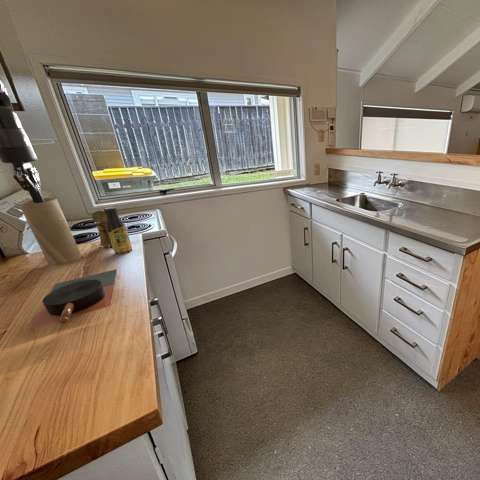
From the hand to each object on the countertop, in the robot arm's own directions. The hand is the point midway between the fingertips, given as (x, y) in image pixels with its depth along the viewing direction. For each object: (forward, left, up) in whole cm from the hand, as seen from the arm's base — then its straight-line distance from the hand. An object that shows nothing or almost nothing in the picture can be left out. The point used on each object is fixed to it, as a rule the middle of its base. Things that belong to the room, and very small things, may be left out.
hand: (39, 202), depth 83 cm
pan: (+5, -29, -26) cm, 39 cm away
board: (+5, -20, -27) cm, 34 cm away
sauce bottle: (+15, +12, -27) cm, 33 cm away
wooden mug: (+10, +26, -27) cm, 39 cm away
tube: (-5, +18, -27) cm, 33 cm away
